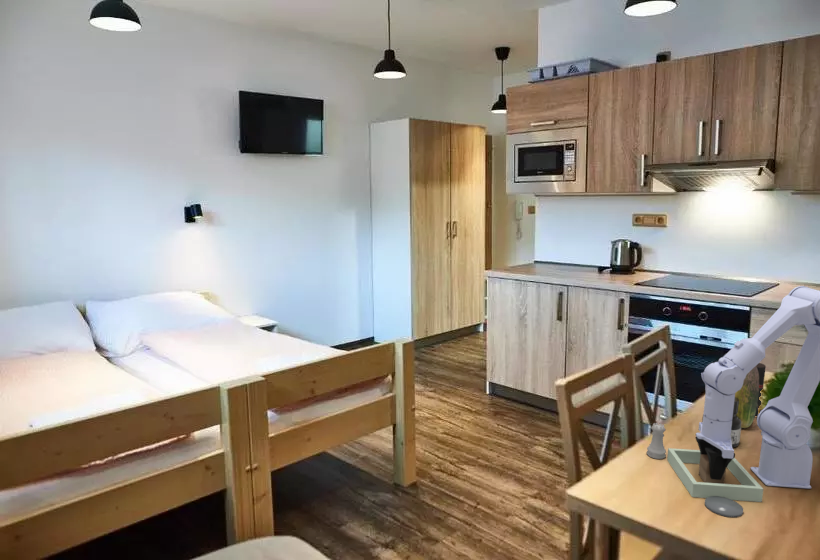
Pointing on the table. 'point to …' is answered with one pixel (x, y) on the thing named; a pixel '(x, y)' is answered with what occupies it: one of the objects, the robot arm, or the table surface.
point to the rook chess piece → (657, 442)
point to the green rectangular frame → (703, 490)
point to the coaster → (723, 506)
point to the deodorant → (760, 382)
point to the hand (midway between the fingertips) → (711, 473)
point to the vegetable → (748, 398)
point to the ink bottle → (735, 425)
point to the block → (707, 471)
